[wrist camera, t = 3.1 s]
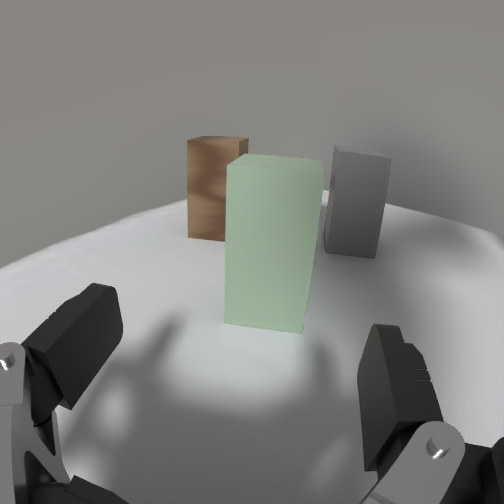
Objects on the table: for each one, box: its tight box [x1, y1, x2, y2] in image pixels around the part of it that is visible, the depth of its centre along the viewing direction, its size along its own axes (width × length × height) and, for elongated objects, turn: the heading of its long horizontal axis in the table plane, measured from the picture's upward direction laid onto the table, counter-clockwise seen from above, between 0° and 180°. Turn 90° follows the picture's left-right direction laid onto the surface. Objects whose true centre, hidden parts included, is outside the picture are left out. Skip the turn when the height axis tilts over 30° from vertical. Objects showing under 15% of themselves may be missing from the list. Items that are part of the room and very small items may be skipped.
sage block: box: [225, 154, 324, 333], centre depth 20 cm, size 5×5×10 cm
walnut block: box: [187, 136, 249, 242], centre depth 33 cm, size 5×5×10 cm
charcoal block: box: [324, 146, 391, 258], centre depth 31 cm, size 5×5×10 cm
